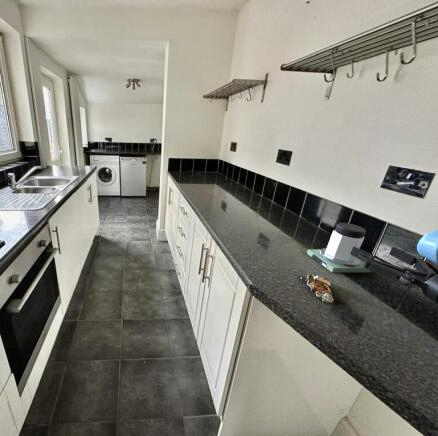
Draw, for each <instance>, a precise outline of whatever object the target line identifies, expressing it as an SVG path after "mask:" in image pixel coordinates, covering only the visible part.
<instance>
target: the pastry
mask: <svg viewBox="0 0 438 436" xmlns="http://www.w3.org/2000/svg"><path fill="white" fill-rule="evenodd" d="M300 279H301V280H303V279H304V277H303V276H302V277H300ZM304 282H306V285H307V286H308V287H309V288H310V292H312V293H314V294H315V297H316V298H317V299H321V301H322V302H325V303H330V304H331V303H332V304H333V303H334V301H335V300H334V298H333V296H332V295H333V291H332V289H331V288H330V286H331V285H332V283H331V282H330V281H328V280H327V278H326V277H323V276H319V275H316V274H311V273H309V272H308V273H307V275H306V278H305V279H304Z"/></svg>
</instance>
